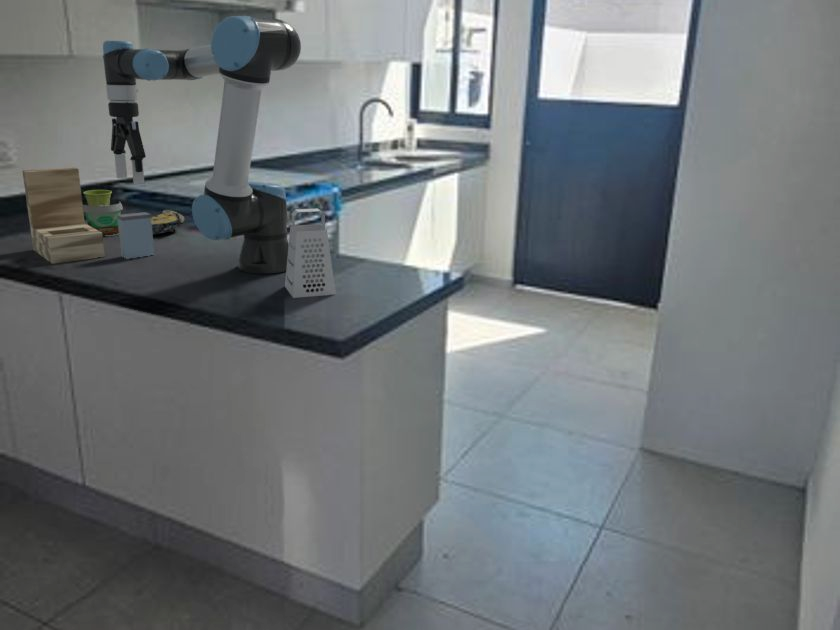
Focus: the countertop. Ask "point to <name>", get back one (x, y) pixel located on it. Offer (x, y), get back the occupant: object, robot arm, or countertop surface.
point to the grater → (309, 259)
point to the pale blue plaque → (135, 235)
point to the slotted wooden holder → (59, 216)
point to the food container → (103, 217)
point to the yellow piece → (166, 221)
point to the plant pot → (98, 197)
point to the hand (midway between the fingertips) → (130, 180)
